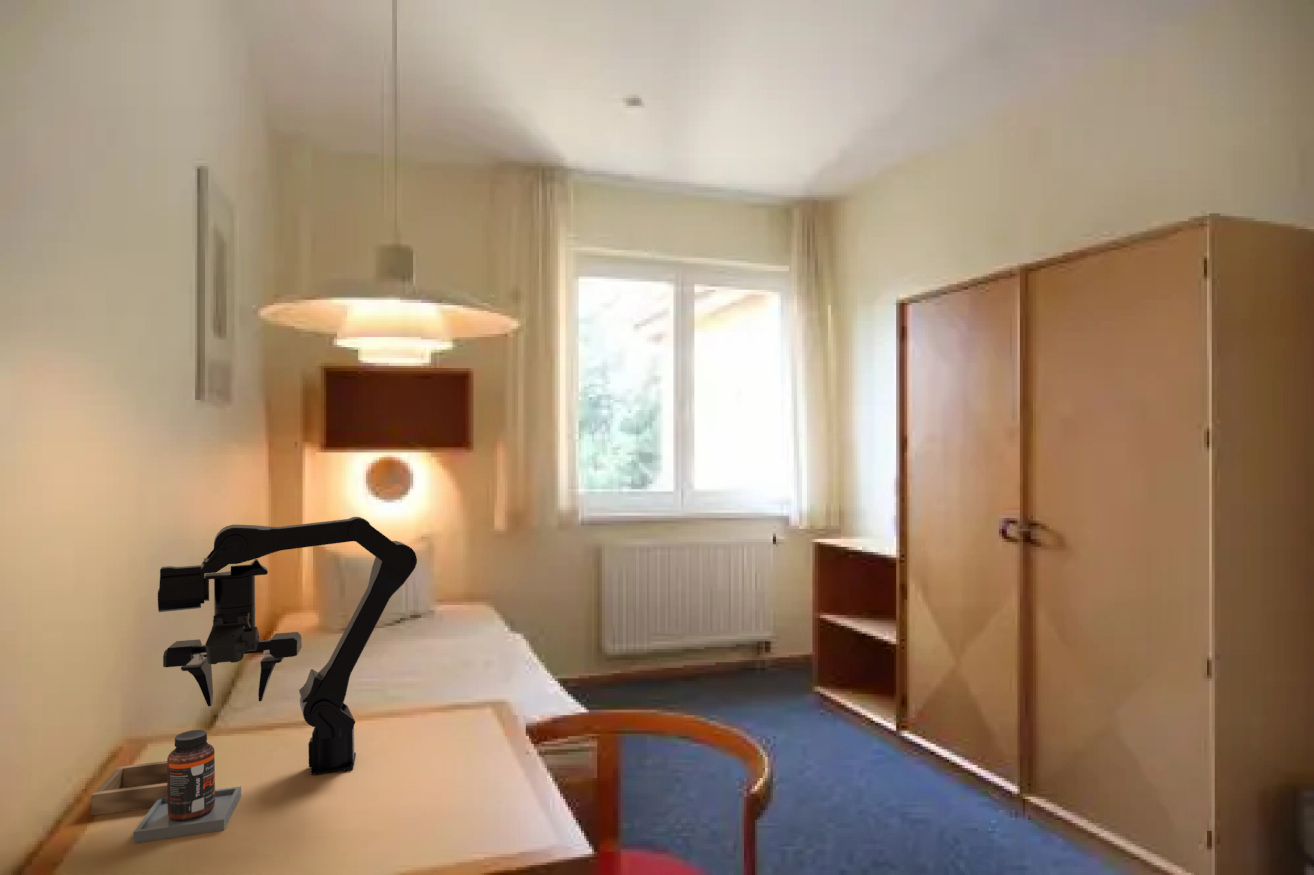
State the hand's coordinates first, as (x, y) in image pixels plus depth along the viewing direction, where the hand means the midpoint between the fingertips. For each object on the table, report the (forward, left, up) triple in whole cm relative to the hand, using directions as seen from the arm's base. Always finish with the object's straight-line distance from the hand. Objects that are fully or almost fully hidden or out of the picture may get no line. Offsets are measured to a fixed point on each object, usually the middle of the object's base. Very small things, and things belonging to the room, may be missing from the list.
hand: (235, 703), depth 123 cm
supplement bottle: (+4, +10, -12) cm, 16 cm away
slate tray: (+4, +10, -13) cm, 17 cm away
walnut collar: (+13, -1, -13) cm, 18 cm away
